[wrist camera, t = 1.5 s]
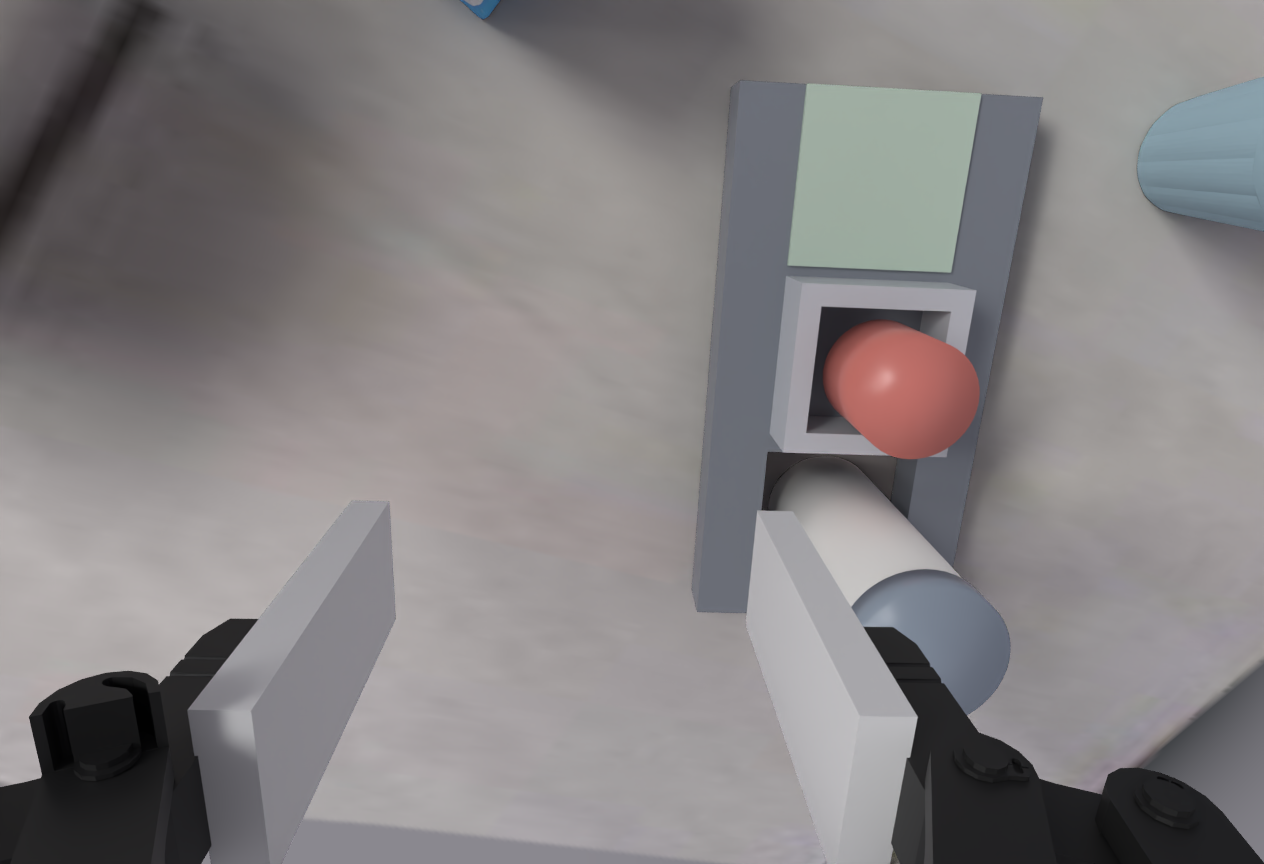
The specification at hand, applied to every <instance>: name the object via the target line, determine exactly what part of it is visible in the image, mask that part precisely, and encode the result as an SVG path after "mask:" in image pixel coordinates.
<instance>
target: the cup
mask: <svg viewBox="0 0 1264 864" xmlns="http://www.w3.org/2000/svg"><path fill="white" fill-rule="evenodd" d="M1137 174H1138V179H1139V183H1140V186H1141V188H1142V190H1143V193H1144V194H1145V196H1146V197H1147V198H1148V199H1149V200H1150V201H1151V202H1152V203H1153V204H1154V205H1156V206H1157V207H1158V208H1160V209H1162V210H1164V211H1168V212H1172V213H1177V214H1181V215H1186V216H1191V217H1196V218H1201V219H1206V220H1210V221H1215V222H1220V223H1225V224H1230V225H1235V226H1240V227H1245V228H1249V229H1254V230H1259V231H1264V77H1261V78H1258V79H1254V80H1251V81H1248V82H1244V83H1241V84H1238V85H1234V86H1231V87H1228V88H1224V89H1221V90H1218V91H1215V92H1211V93H1208V94H1205V95H1202V96H1199V97H1196V98H1193V99H1190V100H1188V101H1185V102H1182V103H1179V104H1177V105H1175V106H1173V107H1172V108H1170V109H1169V110H1168V111H1167V112H1165V113H1164V114H1163V115H1162V116H1161V117H1160V118H1159V119H1158V120H1157V121H1156V122H1155V123H1154V124H1153V125H1152V127H1151V128H1150V130H1149V131H1148V133H1147V135H1146V137H1145V139H1144V141H1143V143H1142V145H1141V148H1140V151H1139V156H1138V166H1137Z"/></svg>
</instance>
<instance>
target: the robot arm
mask: <svg viewBox="0 0 1264 864" xmlns="http://www.w3.org/2000/svg"><path fill="white" fill-rule="evenodd" d="M395 619H396V613H395V595H394V576H393V558H392V540H391V521H390V503H389V501H351V502H350V503H349V505H348V506H347V507H346V508H345V510H344V511H343V512H342V513H341V515H340V516H339V517H338V519H337V520H336V521H335V522H334V524H333V525H332V526H331V527H330V529H329V530H328V531H327V533H326V534H325V535H324V536H323V538H322V539H321V540H320V542H319V543H318V544H317V545H316V547H315V548H314V549H313V550H312V552H311V553H310V554H309V556H308V557H307V558H306V559H305V561H304V562H303V563H302V564H301V566H300V567H299V568H298V570H297V571H296V572H295V573H294V575H293V576H292V577H291V578H290V580H289V581H288V582H287V584H286V585H285V586H284V587H283V589H282V590H281V591H280V593H279V594H278V595H277V596H276V598H275V599H274V600H273V601H272V603H271V604H270V605H269V607H268V608H267V609H266V610H265V612H264V613H263V614H262V615H261V617H260V618H259V619H229V620H227V621H226V622H224V623H222V624H221V625H219V626H217V627H216V628H214V629H213V630H211V631H209V632H208V633H206V634H204V635H203V636H202V637H201V638H200V639H199V640H198V641H197V642H196V644H195V645H194V646H193V647H192V648H191V649H190V650H189V651H188V653H187V654H186V655H185V658H184V660H181V661H180V662H179V663H178V664H177V665H176V666H175V667H174V668H173V670H172V671H171V672H170V676H166V678H165V679H164V680H163V681H162V682H161V683H160V684H158V680H156V679H155V678H153V677H151V676H150V675H148V674H147V673H140V672H133V671H121V672H110V673H104V674H100V675H96V676H93V677H89V678H85V679H81V680H79V681H77V682H75V683H72V684H70V685H68V686H66V687H64V688H61V689H59V690H57V691H56V692H55V693H53V694H52V695H50V696H49V697H47V698H46V699H45V700H43V701H42V702H40V703H39V704H38V706H37V707H36V708H35V710H34V711H33V712H32V714H31V715H30V716H29V719H30V724H31V728H32V732H33V737H34V741H35V746H36V750H37V754H38V759H39V763H40V767H41V772H42V777H41V778H39V779H36V780H32V781H28V782H24V783H19V784H14V785H9V786H4V787H0V864H201V863H202V861H203V859H204V858H205V856H206V854H207V853H208V851H209V854H210V859H211V864H282V862H283V860H284V858H285V855H286V853H287V851H288V849H289V847H290V845H291V842H292V840H293V838H294V836H295V834H296V832H297V830H298V828H299V825H300V823H301V821H302V819H303V817H304V815H305V813H306V810H307V808H308V806H309V804H310V802H311V800H312V798H313V795H314V793H315V791H316V789H317V787H318V785H319V782H320V780H321V778H322V776H323V774H324V772H325V770H326V767H327V765H328V763H329V761H330V759H331V757H332V755H333V752H334V750H335V748H336V746H337V744H338V742H339V740H340V737H341V735H342V733H343V731H344V729H345V727H346V725H347V722H348V720H349V718H350V716H351V714H352V712H353V710H354V707H355V705H356V703H357V701H358V699H359V697H360V695H361V692H362V690H363V688H364V686H365V684H366V682H367V680H368V677H369V675H370V673H371V671H372V669H373V667H374V665H375V662H376V660H377V658H378V656H379V654H380V652H381V650H382V647H383V645H384V643H385V641H386V639H387V637H388V635H389V632H390V630H391V628H392V626H393V624H394V622H395ZM746 627H747V630H748V633H749V636H750V639H751V642H752V645H753V648H754V651H755V654H756V657H757V659H758V662H759V665H760V668H761V671H762V674H763V677H764V680H765V683H766V686H767V689H768V692H769V695H770V698H771V700H772V703H773V706H774V709H775V712H776V715H777V718H778V721H779V724H780V727H781V730H782V733H783V736H784V739H785V741H786V744H787V747H788V750H789V753H790V756H791V759H792V762H793V765H794V768H795V771H796V774H797V777H798V780H799V782H800V785H801V788H802V791H803V794H804V797H805V800H806V803H807V806H808V809H809V812H810V815H811V818H812V821H813V823H814V826H815V829H816V832H817V835H818V838H819V841H820V844H821V847H822V850H823V853H824V856H825V859H826V862H827V864H890V862H891V856H892V851H893V849H894V851H895V853H896V855H897V858H898V860H899V862H900V864H1264V862H1263V861H1262V860H1261V859H1260V857H1259V856H1258V855H1257V854H1256V853H1255V851H1254V850H1253V849H1252V848H1251V847H1250V845H1249V844H1248V843H1247V842H1246V840H1245V839H1244V838H1243V837H1242V835H1241V834H1240V833H1239V832H1238V831H1237V829H1236V828H1235V827H1234V826H1233V824H1232V823H1231V822H1230V821H1229V820H1228V819H1227V817H1226V816H1225V815H1224V813H1223V812H1222V811H1221V810H1220V809H1219V808H1218V807H1216V806H1215V805H1214V804H1213V803H1212V802H1211V801H1210V800H1209V799H1208V798H1207V797H1206V796H1204V795H1202V794H1201V793H1200V792H1198V791H1196V790H1195V789H1193V788H1192V787H1190V786H1188V785H1187V784H1185V783H1184V782H1182V781H1179V780H1177V779H1175V778H1172V777H1169V776H1168V775H1165V774H1162V773H1159V772H1155V771H1150V770H1146V769H1141V768H1120V769H1118V770H1116V771H1114V772H1112V773H1110V774H1108V777H1107V780H1106V783H1105V786H1104V789H1103V793H1102V794H1097V793H1093V792H1089V791H1084V790H1080V789H1076V788H1072V787H1067V786H1063V785H1059V784H1055V783H1051V782H1048V781H1045V780H1041V779H1039V777H1038V775H1037V773H1036V771H1035V769H1034V767H1033V765H1032V764H1031V763H1030V762H1029V761H1028V760H1027V759H1026V758H1025V757H1024V756H1023V755H1022V754H1021V753H1020V752H1019V751H1017V750H1016V749H1014V748H1012V747H1011V746H1009V745H1007V744H1005V743H1004V742H1002V741H1000V740H998V739H995V738H992V737H989V736H987V735H984V734H981V733H979V732H978V731H977V729H976V728H975V727H974V725H973V724H972V722H971V721H970V719H969V718H968V717H967V715H966V714H965V712H964V711H963V709H962V708H961V707H960V705H959V704H958V702H957V701H956V699H955V698H954V697H953V695H952V694H951V692H950V691H949V690H948V688H947V687H946V685H945V684H944V683H941V678H940V677H939V675H938V674H937V672H936V671H935V670H934V668H933V667H930V662H929V661H928V660H927V658H926V657H925V655H924V654H923V652H922V651H921V650H920V648H919V647H918V645H917V644H916V643H914V642H913V641H912V640H910V639H909V638H908V637H906V636H905V635H903V634H902V633H901V632H899V631H898V630H897V629H895V628H894V627H863V626H862V624H861V623H860V621H859V619H858V618H857V616H856V614H855V613H854V611H853V609H852V608H851V606H850V605H849V603H848V601H847V600H846V598H845V596H844V595H843V593H842V591H841V590H840V588H839V586H838V585H837V583H836V581H835V580H834V578H833V577H832V575H831V573H830V572H829V570H828V568H827V567H826V565H825V563H824V562H823V560H822V558H821V557H820V555H819V553H818V552H817V550H816V549H815V547H814V545H813V544H812V542H811V540H810V539H809V537H808V535H807V534H806V532H805V530H804V529H803V527H802V525H801V524H800V522H799V521H798V519H797V517H796V516H795V514H794V512H793V511H759V510H757V518H756V528H755V537H754V547H753V557H752V566H751V576H750V586H749V596H748V605H747V615H746Z"/></svg>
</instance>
